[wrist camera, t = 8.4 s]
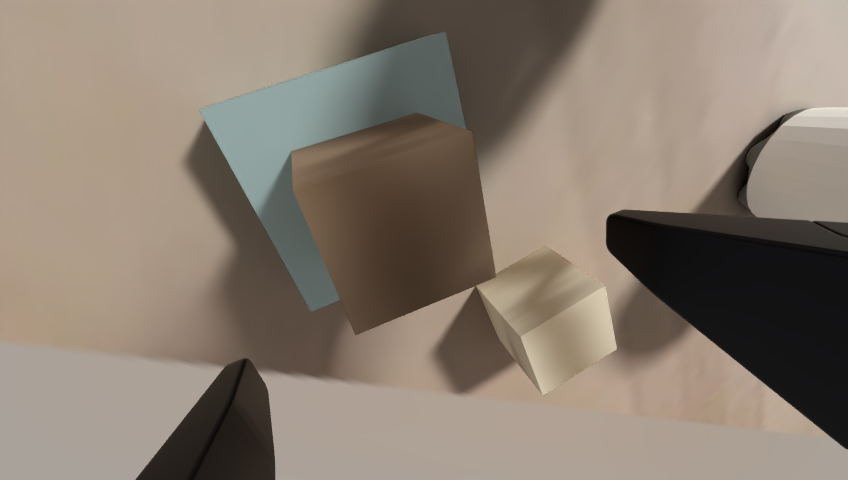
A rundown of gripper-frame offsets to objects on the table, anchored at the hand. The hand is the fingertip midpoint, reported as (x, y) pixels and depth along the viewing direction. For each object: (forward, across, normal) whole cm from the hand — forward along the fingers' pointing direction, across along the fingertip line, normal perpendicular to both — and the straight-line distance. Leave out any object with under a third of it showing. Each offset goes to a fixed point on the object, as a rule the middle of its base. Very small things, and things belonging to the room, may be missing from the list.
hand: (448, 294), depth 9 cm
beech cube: (+10, -7, +10) cm, 16 cm away
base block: (+11, 0, -1) cm, 11 cm away
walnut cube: (+8, 0, 0) cm, 8 cm away
